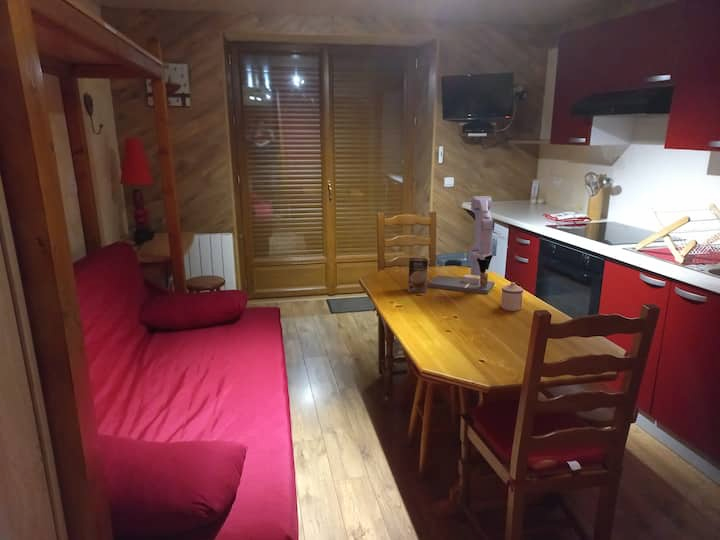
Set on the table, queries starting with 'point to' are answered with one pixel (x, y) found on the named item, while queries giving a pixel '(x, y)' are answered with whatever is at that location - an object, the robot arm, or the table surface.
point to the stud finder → (471, 279)
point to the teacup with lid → (511, 297)
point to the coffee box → (417, 275)
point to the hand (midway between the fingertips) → (484, 271)
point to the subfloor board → (459, 285)
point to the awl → (483, 280)
